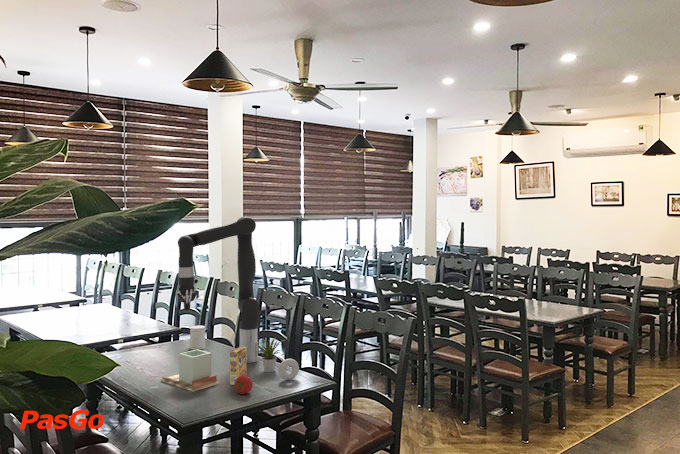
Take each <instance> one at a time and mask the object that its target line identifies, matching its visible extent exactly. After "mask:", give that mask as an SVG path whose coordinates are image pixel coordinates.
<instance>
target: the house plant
mask: <svg viewBox="0 0 680 454" xmlns="http://www.w3.org/2000/svg"><path fill="white" fill-rule="evenodd" d="M262 340H263V341H264V342H265V346H264V344H263V343H262V342H260V341H258V340H257V342H258V343H259V344H260V345H259V344H258V345H257V346H258V348H259V349H258V351H259V352H260V353H263V354H261V356H263V357H261V360H262V366H263V367H262V368H263V372H265V373H271V372H275V370H276V363H277V356H274V355H276V354H280V352H279V351H281V349H276V348H277V347H278V346H279V345H280V343H282V342H284V341H286V340H285V339H283V340H280V341H279V340H276V337H274V338H273V339H272V340H270V339H268V341H267V340H266V339H264V338H262ZM270 341H271V342H270ZM275 349H276V350H275Z"/></svg>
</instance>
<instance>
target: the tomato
mask: <svg viewBox="0 0 680 454" xmlns="http://www.w3.org/2000/svg"><path fill="white" fill-rule="evenodd" d="M253 386H254V385H253V380H252V378H251V377H250V376H249V375H247V376H245V375H242V376H239V377H238V378H237V379H236V380H235V384H234V390H235V392H237V393H238V394H241V395H246V394H249V392H251V391H252V388H253Z"/></svg>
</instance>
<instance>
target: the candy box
mask: <svg viewBox="0 0 680 454" xmlns="http://www.w3.org/2000/svg"><path fill="white" fill-rule="evenodd" d="M247 364H248V363H247V356H246V347H240V346H238V347H236V348H234V349H232V350H230V351H229V385H231V386H232V385H234V384H235V380H236V379H237V378H238V377H239V376H242V375H245V376H248V375H247V370H248V369H247ZM234 386H235V385H234Z"/></svg>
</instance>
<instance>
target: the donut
mask: <svg viewBox="0 0 680 454" xmlns="http://www.w3.org/2000/svg"><path fill="white" fill-rule="evenodd" d="M299 366H300V365H299V363H298V361H296V360H295V359H293V358H287V359H284V360H283V361H282V362H281V363H280V364H279V366H278V369H277V370H278V375H279V376H280V378H281V379H282V380H285V381H292V380H293V379H295V378H296V377H297V375H298V374H299V371H300V367H299ZM288 367H291V370H290V372H287V368H288Z"/></svg>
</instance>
